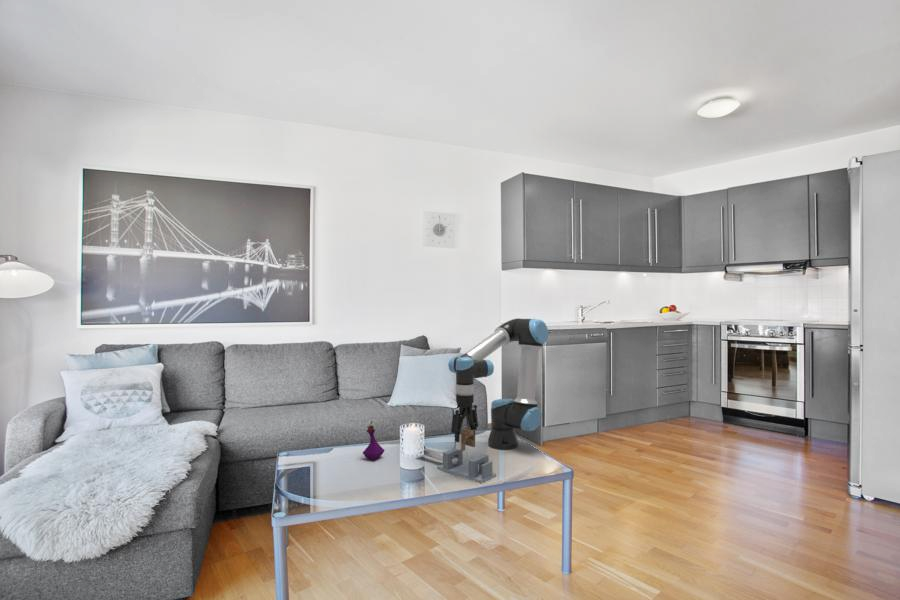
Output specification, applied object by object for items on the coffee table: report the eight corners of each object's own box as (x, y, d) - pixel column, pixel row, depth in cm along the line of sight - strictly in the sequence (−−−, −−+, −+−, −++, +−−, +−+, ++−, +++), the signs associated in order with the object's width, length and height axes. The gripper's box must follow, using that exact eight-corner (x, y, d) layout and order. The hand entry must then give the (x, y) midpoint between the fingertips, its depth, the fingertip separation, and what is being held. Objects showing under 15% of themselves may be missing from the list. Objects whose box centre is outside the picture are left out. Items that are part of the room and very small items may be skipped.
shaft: (423, 453, 222) (423, 444, 222) (459, 465, 207) (459, 454, 207) (416, 456, 219) (416, 446, 219) (452, 467, 204) (452, 457, 204)
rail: (452, 462, 214) (451, 445, 214) (496, 476, 197) (496, 457, 197) (436, 468, 206) (436, 450, 206) (481, 483, 190) (481, 464, 190)
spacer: (466, 444, 206) (466, 428, 206) (475, 446, 203) (475, 430, 203) (454, 448, 200) (454, 431, 201) (463, 450, 197) (463, 434, 197)
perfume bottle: (362, 459, 219) (361, 421, 219) (372, 454, 225) (371, 417, 225) (375, 462, 215) (374, 423, 215) (384, 457, 222) (384, 419, 222)
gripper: (473, 389, 212) (473, 439, 212) (442, 396, 197) (442, 450, 197) (486, 391, 207) (486, 443, 207) (455, 398, 192) (455, 454, 192)
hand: (465, 446), depth 202 cm, fingers closed on spacer, 8 cm apart
